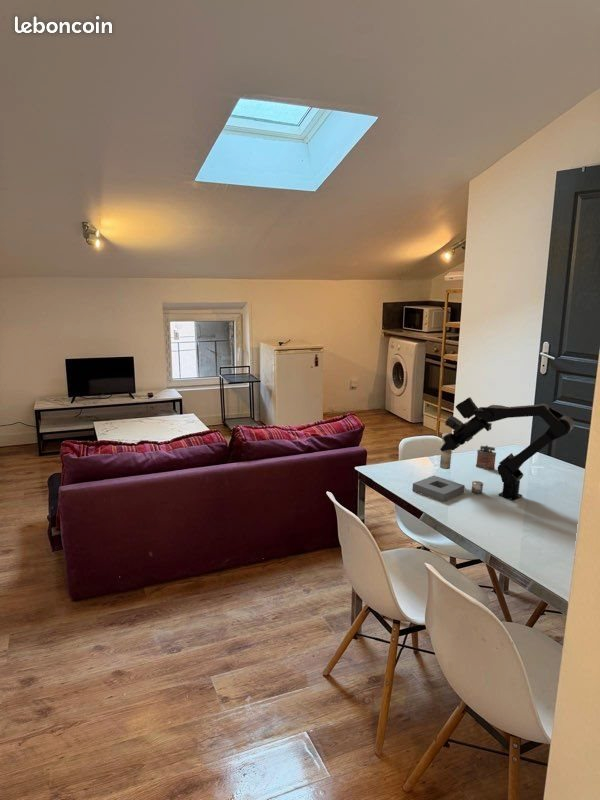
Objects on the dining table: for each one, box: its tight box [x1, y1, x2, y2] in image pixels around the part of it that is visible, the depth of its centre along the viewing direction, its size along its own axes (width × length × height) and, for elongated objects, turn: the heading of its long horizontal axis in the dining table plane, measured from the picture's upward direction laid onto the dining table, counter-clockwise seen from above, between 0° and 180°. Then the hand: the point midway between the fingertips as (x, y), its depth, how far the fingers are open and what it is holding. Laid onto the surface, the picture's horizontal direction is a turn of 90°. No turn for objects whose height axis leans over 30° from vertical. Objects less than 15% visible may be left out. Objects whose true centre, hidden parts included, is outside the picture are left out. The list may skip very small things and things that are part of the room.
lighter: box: [475, 445, 497, 471], centre depth 230 cm, size 8×3×10 cm, turn 55°
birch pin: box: [439, 432, 452, 470], centre depth 214 cm, size 4×4×14 cm
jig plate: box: [411, 475, 466, 502], centre depth 203 cm, size 14×14×3 cm
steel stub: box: [471, 480, 484, 496], centre depth 203 cm, size 4×4×4 cm
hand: (443, 449), depth 214 cm, fingers closed on birch pin, 4 cm apart
